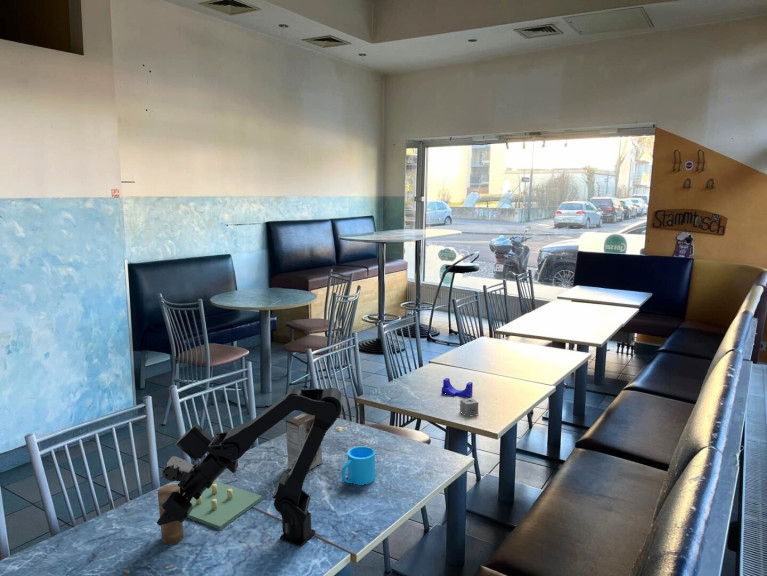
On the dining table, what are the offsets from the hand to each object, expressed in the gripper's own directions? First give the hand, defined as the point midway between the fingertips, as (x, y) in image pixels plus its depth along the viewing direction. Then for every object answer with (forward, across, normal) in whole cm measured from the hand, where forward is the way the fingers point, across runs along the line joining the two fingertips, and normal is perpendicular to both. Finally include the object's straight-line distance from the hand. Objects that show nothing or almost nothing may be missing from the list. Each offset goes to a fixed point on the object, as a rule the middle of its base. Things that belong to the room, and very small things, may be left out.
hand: (165, 512), depth 135 cm
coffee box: (-16, -36, +26) cm, 47 cm away
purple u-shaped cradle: (-55, -96, +65) cm, 128 cm away
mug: (-28, -27, +37) cm, 54 cm away
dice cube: (-57, -76, +66) cm, 116 cm away
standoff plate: (0, -15, +10) cm, 18 cm away
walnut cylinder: (+4, 0, +6) cm, 7 cm away
